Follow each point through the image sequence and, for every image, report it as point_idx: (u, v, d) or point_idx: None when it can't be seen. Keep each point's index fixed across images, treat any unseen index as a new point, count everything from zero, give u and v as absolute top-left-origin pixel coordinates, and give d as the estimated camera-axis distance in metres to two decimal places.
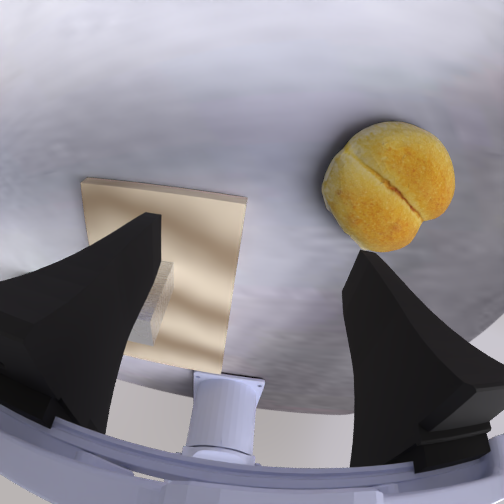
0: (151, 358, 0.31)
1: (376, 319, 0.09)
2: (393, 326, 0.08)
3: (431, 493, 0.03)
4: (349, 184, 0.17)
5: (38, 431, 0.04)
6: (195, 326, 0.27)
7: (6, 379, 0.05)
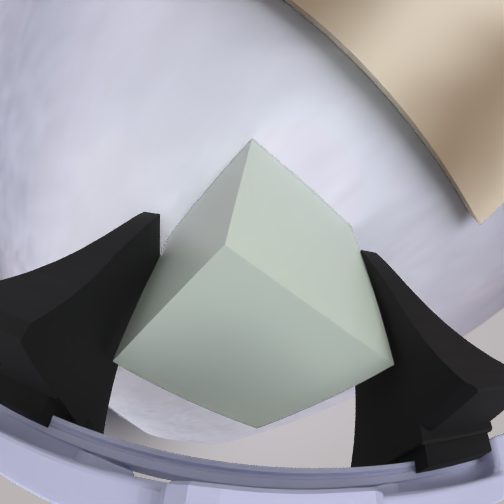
0: None
1: None
2: (394, 326, 0.08)
3: (431, 493, 0.03)
4: None
5: (38, 431, 0.04)
6: None
7: (4, 378, 0.05)
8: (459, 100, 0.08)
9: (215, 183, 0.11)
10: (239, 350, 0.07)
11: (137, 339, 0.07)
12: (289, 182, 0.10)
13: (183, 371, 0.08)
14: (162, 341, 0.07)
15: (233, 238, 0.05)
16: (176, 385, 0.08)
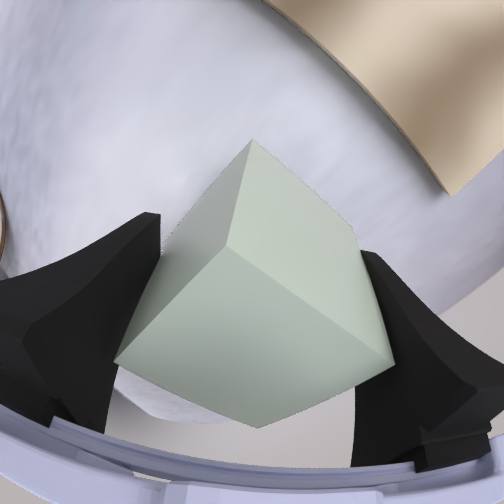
0: None
1: None
2: (394, 326, 0.08)
3: (431, 493, 0.03)
4: None
5: (38, 431, 0.04)
6: None
7: (5, 378, 0.05)
8: (425, 90, 0.10)
9: (215, 183, 0.11)
10: (240, 350, 0.07)
11: (138, 339, 0.07)
12: (290, 182, 0.10)
13: (184, 371, 0.08)
14: (163, 341, 0.07)
15: (235, 239, 0.05)
16: (177, 385, 0.08)
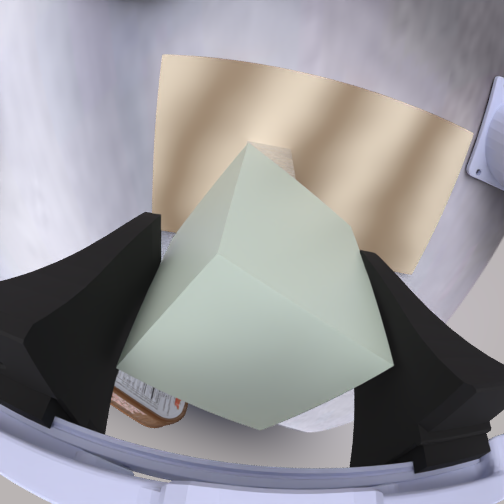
0: (429, 226, 0.20)
1: None
2: (393, 326, 0.08)
3: (431, 493, 0.03)
4: None
5: (38, 431, 0.04)
6: (366, 137, 0.17)
7: (6, 379, 0.05)
8: (366, 242, 0.21)
9: (213, 188, 0.11)
10: (238, 355, 0.07)
11: (138, 346, 0.07)
12: (286, 186, 0.10)
13: (185, 376, 0.08)
14: (162, 347, 0.07)
15: (227, 246, 0.06)
16: (179, 390, 0.08)
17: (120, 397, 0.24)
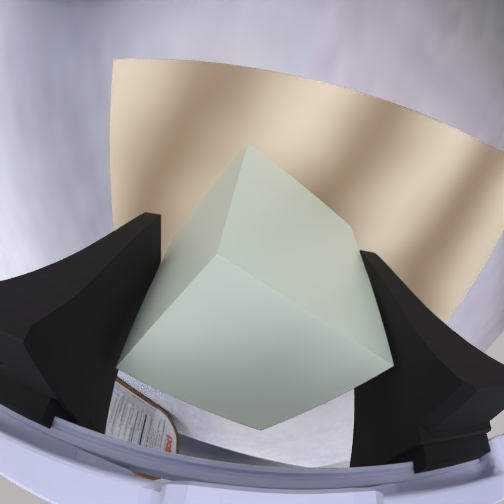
0: (466, 282, 0.15)
1: None
2: (393, 326, 0.08)
3: (431, 493, 0.03)
4: None
5: (38, 431, 0.04)
6: (404, 176, 0.12)
7: (6, 379, 0.05)
8: None
9: (213, 188, 0.11)
10: (238, 355, 0.07)
11: (138, 346, 0.07)
12: (286, 186, 0.10)
13: (184, 376, 0.08)
14: (162, 347, 0.07)
15: (226, 246, 0.06)
16: (178, 390, 0.08)
17: None
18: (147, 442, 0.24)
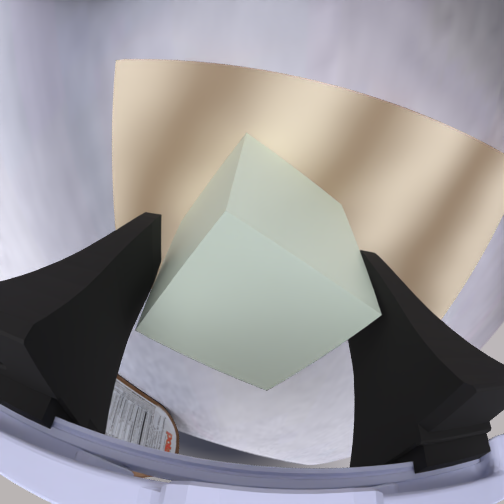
0: (462, 277, 0.15)
1: (376, 320, 0.09)
2: (393, 326, 0.08)
3: (431, 493, 0.03)
4: None
5: (38, 431, 0.04)
6: (398, 172, 0.12)
7: (6, 379, 0.05)
8: None
9: (217, 174, 0.12)
10: (244, 305, 0.08)
11: (157, 304, 0.08)
12: (281, 168, 0.11)
13: (198, 332, 0.09)
14: (179, 303, 0.08)
15: (233, 207, 0.07)
16: (192, 348, 0.09)
17: None
18: (147, 438, 0.24)
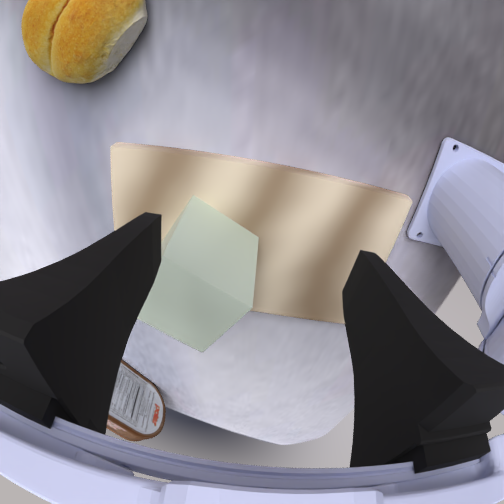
0: None
1: (376, 320, 0.09)
2: (393, 326, 0.08)
3: (431, 493, 0.03)
4: (59, 71, 0.14)
5: (38, 431, 0.04)
6: (296, 215, 0.20)
7: (6, 379, 0.05)
8: (304, 301, 0.24)
9: (176, 220, 0.20)
10: (178, 299, 0.16)
11: None
12: (211, 218, 0.19)
13: (158, 313, 0.17)
14: (147, 297, 0.16)
15: (167, 253, 0.15)
16: (156, 323, 0.17)
17: None
18: (139, 408, 0.32)
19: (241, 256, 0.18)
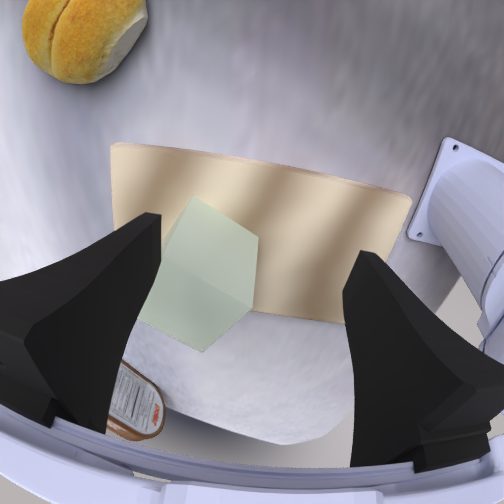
0: None
1: (376, 320, 0.09)
2: (393, 326, 0.08)
3: (431, 493, 0.03)
4: (59, 71, 0.14)
5: (38, 431, 0.04)
6: (296, 215, 0.20)
7: (6, 379, 0.05)
8: (304, 301, 0.24)
9: (176, 220, 0.20)
10: (178, 299, 0.16)
11: None
12: (211, 218, 0.19)
13: (158, 313, 0.17)
14: (147, 297, 0.16)
15: (167, 253, 0.15)
16: (156, 323, 0.17)
17: None
18: (139, 408, 0.32)
19: (241, 256, 0.18)
